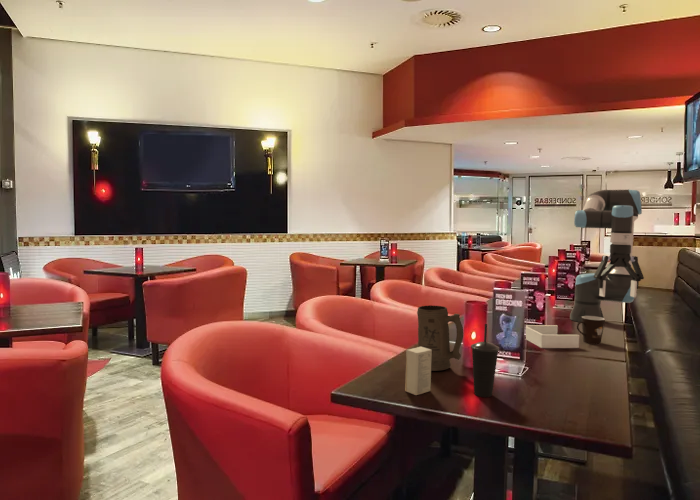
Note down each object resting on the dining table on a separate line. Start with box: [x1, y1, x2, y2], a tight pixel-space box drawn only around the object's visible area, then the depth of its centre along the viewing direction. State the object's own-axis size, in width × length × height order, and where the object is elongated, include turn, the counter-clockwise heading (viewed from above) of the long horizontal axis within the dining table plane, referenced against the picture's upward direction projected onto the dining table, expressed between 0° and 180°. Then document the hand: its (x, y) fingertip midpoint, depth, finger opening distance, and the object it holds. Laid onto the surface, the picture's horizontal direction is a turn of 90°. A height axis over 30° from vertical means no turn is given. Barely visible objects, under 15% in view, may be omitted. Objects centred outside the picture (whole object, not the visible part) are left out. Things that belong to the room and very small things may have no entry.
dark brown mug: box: [576, 316, 606, 345], centre depth 210 cm, size 12×9×10 cm
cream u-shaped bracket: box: [525, 324, 580, 349], centre depth 208 cm, size 15×18×5 cm
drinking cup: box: [470, 323, 500, 398], centre depth 145 cm, size 8×8×20 cm
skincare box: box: [404, 346, 432, 396], centre depth 146 cm, size 6×4×12 cm
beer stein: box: [416, 304, 464, 372], centre depth 169 cm, size 15×11×20 cm
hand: (617, 296), depth 210 cm, fingers open, 12 cm apart
